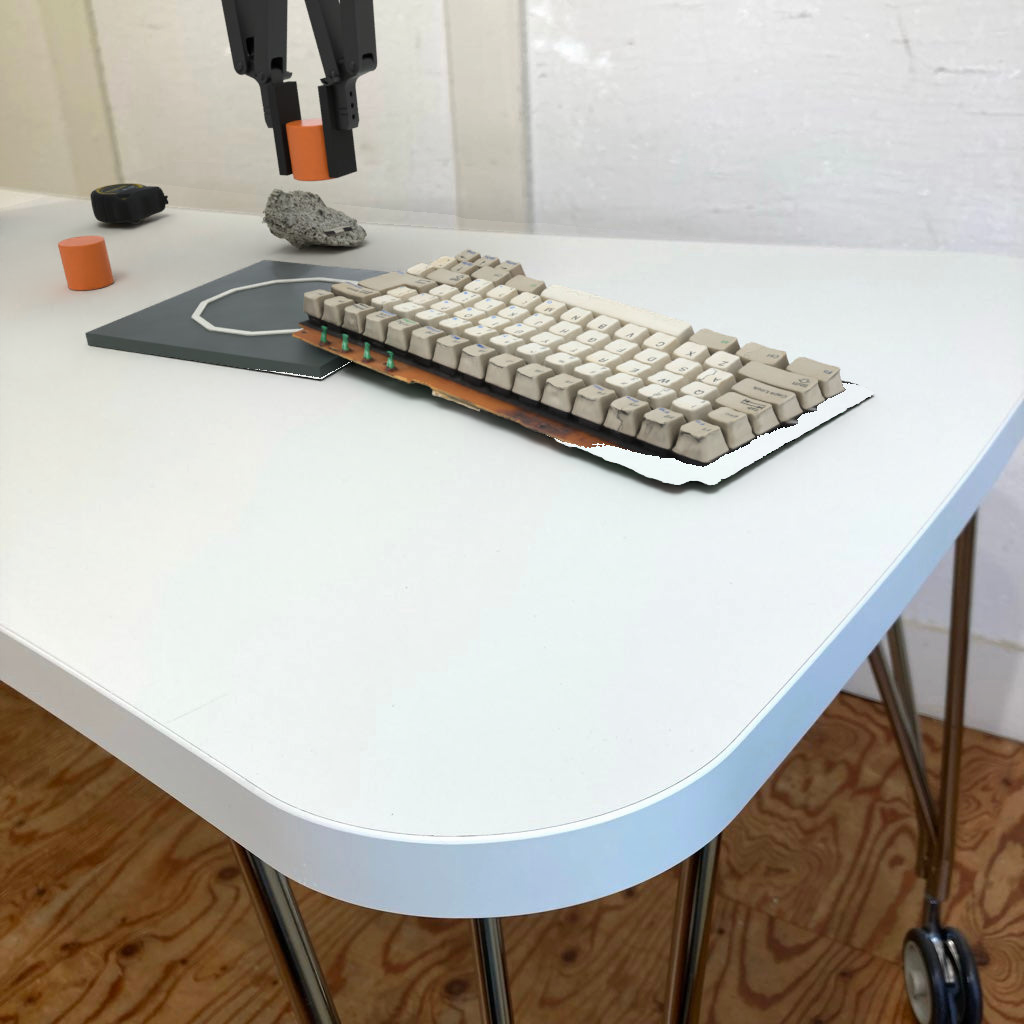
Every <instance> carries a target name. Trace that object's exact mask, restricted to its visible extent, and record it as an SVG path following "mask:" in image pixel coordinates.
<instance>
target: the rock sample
mask: <svg viewBox="0 0 1024 1024" xmlns="http://www.w3.org/2000/svg"><path fill="white" fill-rule="evenodd" d="M262 214H264V217H263V216H261V218H262V221H261V222H262V224H266V226H267V227H268V228H269V232H270V233H271V234H272V235H273V236H274V237H276V238H279V239H283V240H286V241H287V242H288V243H289V244H290V245H291V246H293V247H295V248H299V249H301V248H305V247H307V246H309V245H312V246H313V245H317V246H322V247H323V246H325V247H328V246H333V247H339V246H342V247H347V248H348V247H353V248H355V247H358V246H360V243H362V242H363V241H364V240H365V239H366V238H367V236H368V233H367V231H366V230H365V228H364V227H363V226H362V225H359V224H358V220H357V219H356V218H354V217H353V218H352V217H351V216H349V215H347V214H346V213H344V211H341V210H337V209H335V208H332V207H330V206H327V204H326V203H325V202H324V200H323V199H322V198H321V196H320V195H319V194H317V193H313V192H311V191H303V190H299V189H298V190H293V191H292V190H291V191H288V192H285V191H284V190H283V186H281V189H279V188H274V189H273V190H272V191H271V193H269V196H268V197H267V202H266V204H265V208H264V210H263V211H262Z"/></svg>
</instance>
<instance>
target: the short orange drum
mask: <svg viewBox="0 0 1024 1024" xmlns="http://www.w3.org/2000/svg"><path fill="white" fill-rule="evenodd" d="M286 131H287V138H288V145H289V152H290V159H291V165H292V172H293V174H292V177H293V180H296V181H299V182H322V181H329V180H330V181H331V180H335V179H336V178H329V173H328V165H327V157H326V149H325V141H324V133H323V125H322V117H321V118H320V117H319V118H305V119H302V120H297V121H293V122H289V123H287V124H286Z"/></svg>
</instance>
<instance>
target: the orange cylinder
mask: <svg viewBox="0 0 1024 1024" xmlns="http://www.w3.org/2000/svg"><path fill="white" fill-rule="evenodd" d="M57 247H58V251H59V256H60V260H61V264H62V267H63V272H64V275H65V280H66V282H67V283H66V284H67V288H68V289H70V290H73V291H92V290H98V289H101V288H105V287H108V286H110V285H112V284H114V282H115V279H114V275H113V271H112V266H111V261H110V257H109V253H108V252H109V251H108V248H107V244H106V239H105V237H104V236H101V235H80V236H74V237H69V238H65V239H62V240H61V241H58V243H57Z"/></svg>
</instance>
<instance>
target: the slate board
mask: <svg viewBox="0 0 1024 1024" xmlns="http://www.w3.org/2000/svg"><path fill="white" fill-rule="evenodd" d="M391 272H392V271H383V270H382V271H381V270H373V269H372V270H371V269H363V268H362V269H361V268H353V267H352V268H351V267H342V266H341V267H340V266H331V265H321V264H313V263H311V264H310V263H299V262H290V261H280V260H272V259H263V260H260V261H258V262H255V263H252V264H251V265H248V266H245V267H243V268H240V269H238V270H236V271H233V272H231V273H228V274H226V275H224V276H221V277H219V278H216V279H214V280H212V281H209V282H207V283H204V284H202V285H199V286H197V287H195V288H192V289H189V290H187V291H184V292H182V293H180V294H177V295H175V296H172V297H170V298H167V299H164V300H162V301H160V302H157V303H154V304H152V305H150V306H148V307H145V308H143V309H140V310H138V311H135V312H133V313H131V314H128V315H126V316H124V317H121V318H118V319H116V320H114V321H111V322H108V323H107V324H103V325H102V326H101V325H100V326H98V327H96V328H94V329H91V330H89V331H86V332H85V339H86V343H87V345H88V346H91V347H99V348H105V349H111V350H119V351H124V352H125V351H126V352H133V353H137V354H138V353H140V354H144V353H145V354H144V355H151V354H155V355H154V356H157V355H161V356H160V357H164V356H168V357H167V358H170V357H174V358H173V359H177V358H180V359H179V360H184V359H188V360H187V361H190V360H194V361H193V362H197V361H199V362H198V363H203V362H206V363H205V364H210V363H212V365H216V364H219V365H218V366H223V365H227V366H226V367H229V366H234V367H233V368H236V367H239V368H238V369H243V368H249V369H258V370H259V369H260V370H267V371H276V372H285V373H286V372H287V373H293V374H298V375H299V374H300V375H306V376H312V377H313V376H314V377H319V378H321V377H323V376H325V375H327V374H328V373H330V372H332V371H335V370H336V369H338V368H340V367H342V366H343V365H345V364H347V363H348V362H351V361H350V360H348V359H345V358H343V357H340V356H338V355H335V354H333V353H330V352H329V351H326V350H323V349H321V348H319V347H315V346H313V345H311V344H309V343H306V342H304V341H302V340H299V339H297V338H293V336H292V334H293V333H295V332H297V331H300V330H302V329H303V328H301V327H300V326H299V323H300V322H302V321H306V320H309V317H308V314H307V313H304V312H303V305H304V293H306V292H311V291H315V290H325V291H327V292H331V286H332V285H334V284H339V283H342V282H351V283H353V284H356V285H357V284H358V282H359V281H362V280H366V279H369V278H373V277H377V276H380V275H383V274H388V273H391ZM334 351H336V350H334ZM175 357H176V358H175ZM181 358H182V359H181ZM213 363H214V364H213ZM240 367H241V368H240ZM249 369H248V370H249Z"/></svg>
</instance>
